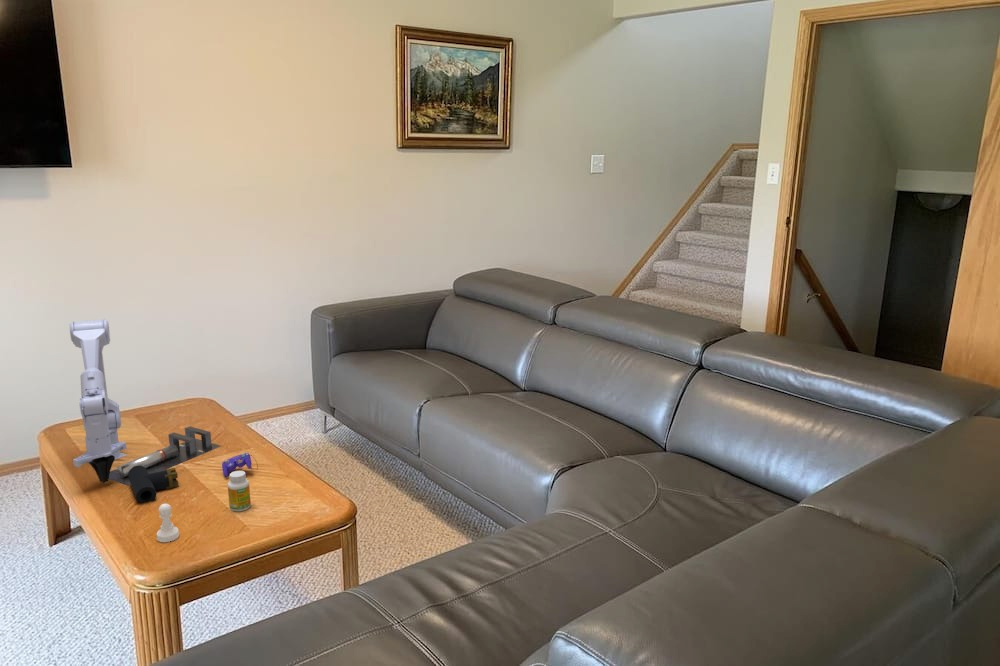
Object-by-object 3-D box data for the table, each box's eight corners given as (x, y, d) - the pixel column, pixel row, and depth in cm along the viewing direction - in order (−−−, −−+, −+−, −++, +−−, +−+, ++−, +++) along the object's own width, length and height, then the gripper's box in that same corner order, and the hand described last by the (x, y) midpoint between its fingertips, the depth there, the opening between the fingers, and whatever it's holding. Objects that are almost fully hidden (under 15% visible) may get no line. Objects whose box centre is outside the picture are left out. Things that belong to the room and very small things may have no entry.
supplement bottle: (238, 513, 196) (235, 479, 194) (225, 508, 199) (222, 475, 196) (255, 505, 200) (252, 472, 198) (241, 500, 203) (239, 467, 201)
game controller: (215, 473, 212) (217, 452, 220) (227, 494, 216) (229, 473, 224) (249, 460, 213) (250, 441, 221) (260, 481, 217) (261, 461, 225)
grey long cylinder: (125, 479, 215) (124, 467, 214) (117, 475, 216) (116, 464, 215) (178, 457, 230) (178, 446, 229) (170, 453, 232) (170, 442, 230)
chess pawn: (166, 531, 187) (163, 498, 185) (183, 534, 186) (180, 501, 183) (152, 541, 182) (148, 507, 180) (169, 544, 181) (165, 510, 179)
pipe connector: (170, 458, 216) (181, 479, 204) (172, 475, 218) (182, 496, 206) (127, 467, 210) (135, 488, 198) (129, 484, 212) (137, 506, 199)
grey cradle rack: (99, 477, 217) (97, 458, 215) (194, 439, 244) (192, 422, 243) (128, 487, 210) (125, 468, 209) (222, 447, 238) (220, 430, 237)
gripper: (81, 447, 199) (88, 494, 203) (130, 430, 212) (136, 474, 215) (65, 442, 203) (72, 488, 206) (115, 425, 215) (120, 469, 218)
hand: (104, 481), depth 211 cm, fingers closed
